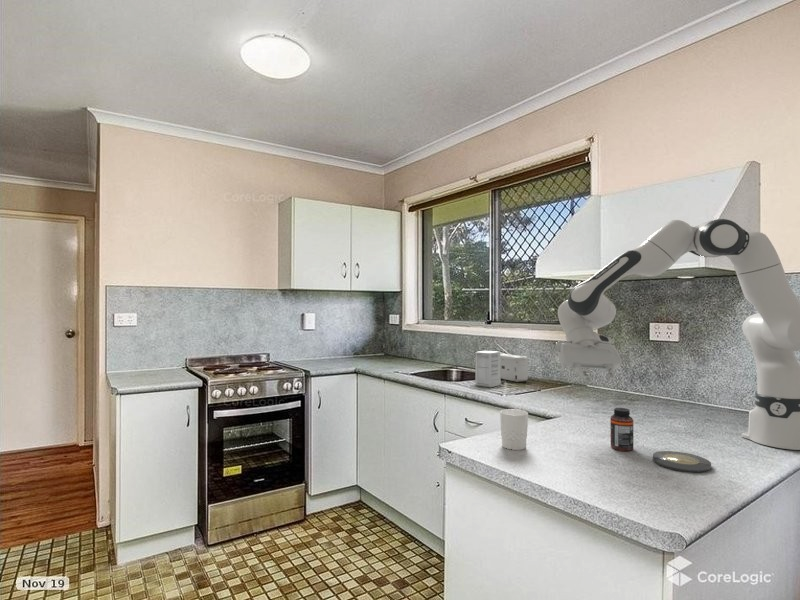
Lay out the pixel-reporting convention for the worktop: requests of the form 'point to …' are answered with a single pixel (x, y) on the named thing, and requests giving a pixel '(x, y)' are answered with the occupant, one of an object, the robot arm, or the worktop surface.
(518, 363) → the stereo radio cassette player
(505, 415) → the white cup
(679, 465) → the grey flat disc
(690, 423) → the worktop surface
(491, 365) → the supplement box
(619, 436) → the supplement bottle
